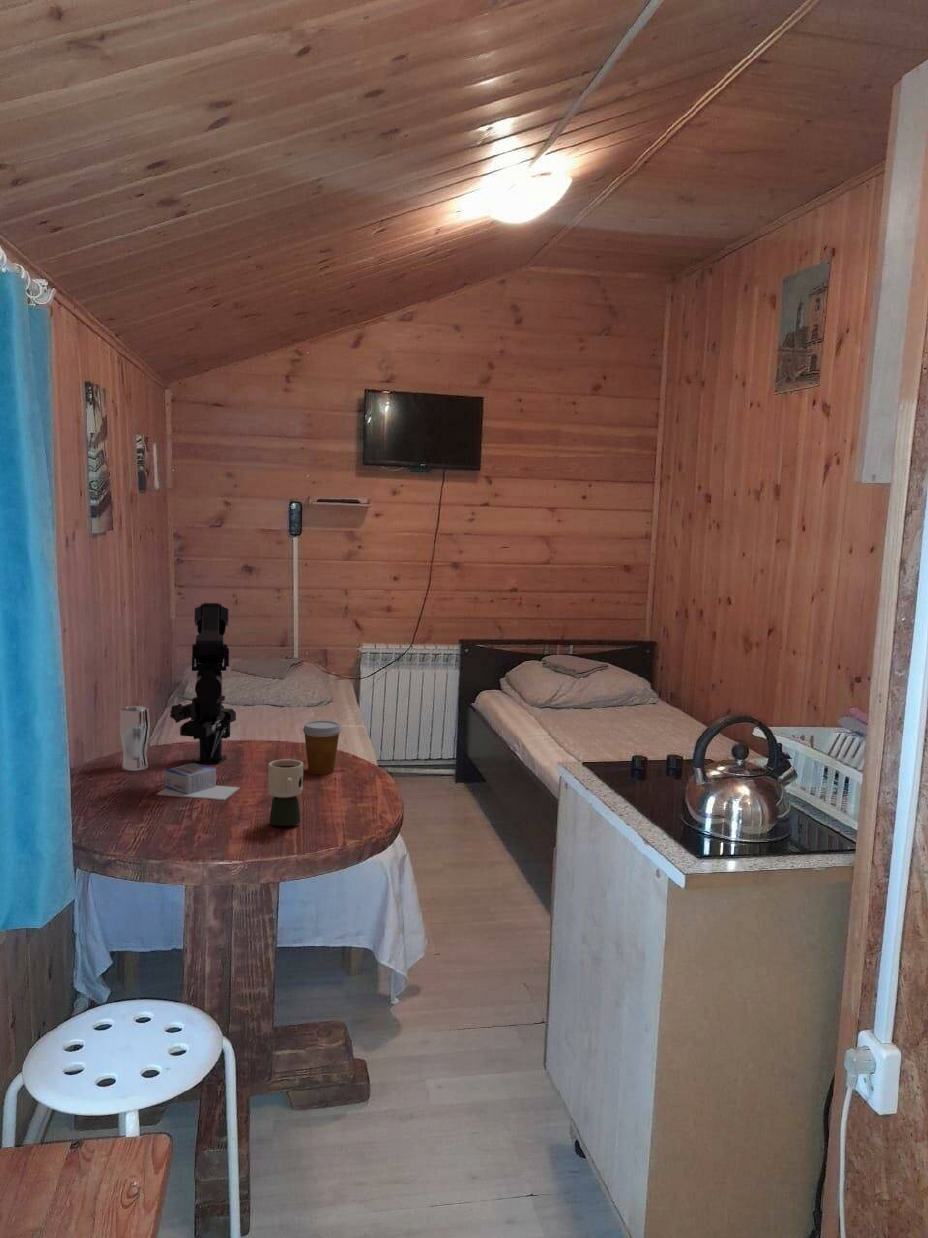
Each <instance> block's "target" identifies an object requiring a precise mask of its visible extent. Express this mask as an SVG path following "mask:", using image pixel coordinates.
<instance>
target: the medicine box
mask: <svg viewBox="0 0 928 1238" xmlns="http://www.w3.org/2000/svg"><path fill="white" fill-rule="evenodd" d="M216 771H217V769H216V768H215V767H212V766H209V765H204V764H200V763H198V762H192V763H187V764H183V765H180V766H176V767H175V766H174V767H171V768H167V769H165V770H164V789H165V788H168V789H172V790H175V791H178V792H182V793H185V794H191V793H195V792H198V791H201V790H205V789H208V788H212V787H215V786H217V784H216V783H217V774H216V773H217V772H216Z"/></svg>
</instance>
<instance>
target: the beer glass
mask: <svg viewBox="0 0 928 1238" xmlns="http://www.w3.org/2000/svg"><path fill="white" fill-rule="evenodd" d="M119 715H120V716H119V733H120V738H121V739H120V740H121V745H122V751H123V757H122V758H123V760H122V765H121V769H122V770H123V771H127V772H137V771H144V770H146V769H148V768H149V764H148V758H147V748H148V742H149V735H150V730H151V727H150V726H151V724H150V723H151V722H150V721H151V720H150V709H149V706H144V705H129V706H124V707H121V708H120V714H119Z"/></svg>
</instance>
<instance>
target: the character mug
mask: <svg viewBox="0 0 928 1238" xmlns="http://www.w3.org/2000/svg"><path fill="white" fill-rule="evenodd" d="M267 774H268V777H267V779H268V780H267V782H268V783H267V792H268V795H270V796H272V797H273V798H272V800H271V807H270V815H269V824H270V825H273V826H284V827H286V828H287V827H288V826H296V825H298V824H300V823H301V813H300V811H301V810H300V804H299V799H298V797H297V796H300V795H301V794H302V793H303V792H304V791H303V790H304V762H303V761H302V760H296V759H290V758H289V759H288V758H285V759H284V758H283V759H276V760H272V761H270V762H269V763H268V771H267Z"/></svg>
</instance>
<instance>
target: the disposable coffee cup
mask: <svg viewBox="0 0 928 1238" xmlns="http://www.w3.org/2000/svg"><path fill="white" fill-rule="evenodd" d="M341 731H342V728H341V726H340V723H338V722H336V721H332V720H313V721H308V722H306V723H305V724H304V726H303V728H302V732H303V734H304V741H305V750H306V760H307V768H308V769H307V770H308V773H310V774H313V775H329V774H332V773H334V770H335V764H336V758H337V757H336V756H337V750H338V744H339V737H340V734H341Z"/></svg>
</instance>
